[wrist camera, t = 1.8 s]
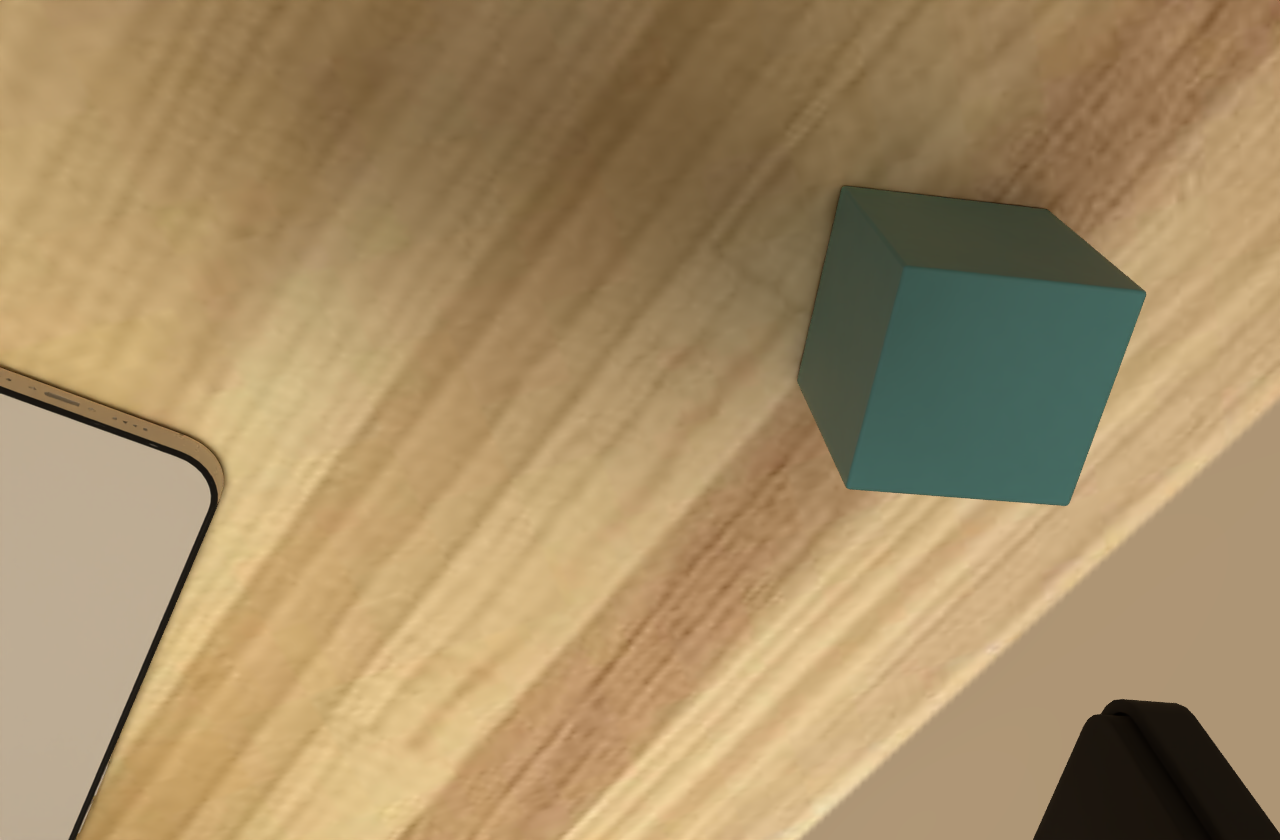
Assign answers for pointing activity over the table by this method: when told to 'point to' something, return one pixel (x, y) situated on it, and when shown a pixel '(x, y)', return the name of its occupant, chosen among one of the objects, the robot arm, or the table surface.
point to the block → (962, 347)
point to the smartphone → (83, 587)
